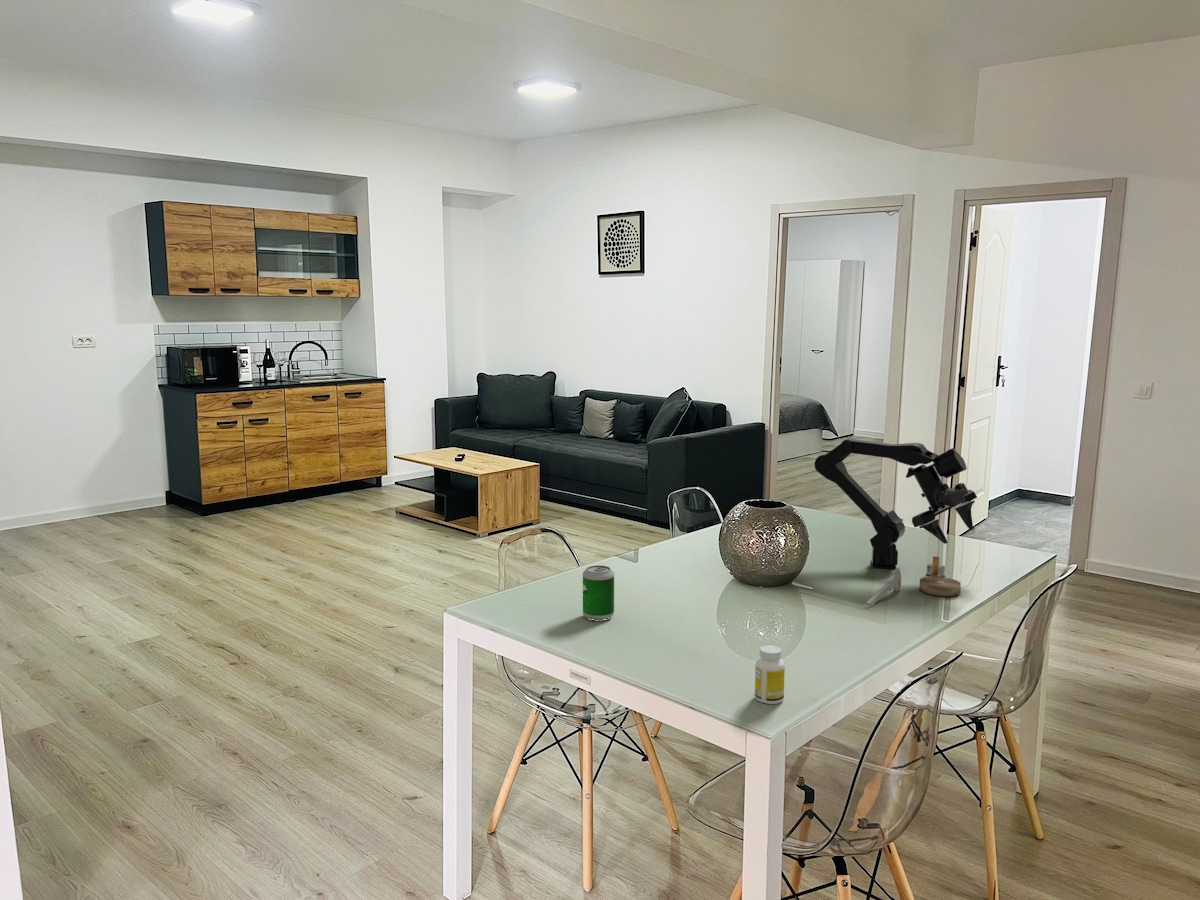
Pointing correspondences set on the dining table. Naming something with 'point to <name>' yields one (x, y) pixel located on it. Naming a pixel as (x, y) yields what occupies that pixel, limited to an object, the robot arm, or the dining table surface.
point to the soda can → (598, 592)
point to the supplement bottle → (769, 676)
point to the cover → (941, 570)
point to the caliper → (886, 588)
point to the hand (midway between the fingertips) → (959, 536)
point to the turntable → (939, 583)
